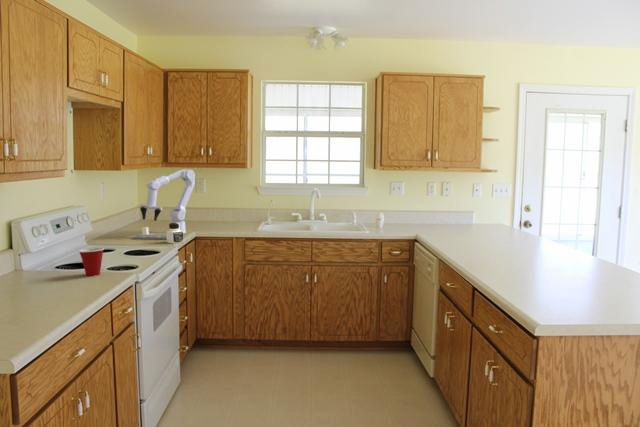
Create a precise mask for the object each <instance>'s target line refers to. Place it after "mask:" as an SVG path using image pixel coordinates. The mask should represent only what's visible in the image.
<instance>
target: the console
mask: <svg viewBox="0 0 640 427" xmlns="http://www.w3.org/2000/svg"><path fill="white" fill-rule="evenodd" d="M132 240H145V241H146V240H149V241H151V240H153V241H167V238H166V232H165V233H163V232H161V233H160V232H149V234H142V233H138V234H137V235H135V236H133V237H132Z"/></svg>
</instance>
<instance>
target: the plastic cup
mask: <svg viewBox="0 0 640 427" xmlns="http://www.w3.org/2000/svg"><path fill="white" fill-rule="evenodd" d="M104 250H105V247H92V248H84V249H79V250H78V251H77V252H78V253H79V255H80V257H81V261H82V265H83V268H84V272H85V275H86V277H95V276H94V275H97V276H100V275H101V268H102V264H103V263H102V261H103V254H104Z"/></svg>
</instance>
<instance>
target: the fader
mask: <svg viewBox="0 0 640 427" xmlns="http://www.w3.org/2000/svg"><path fill="white" fill-rule="evenodd" d="M149 230H150V227H148V226H143V227H141V234H149V233H150V232H149Z"/></svg>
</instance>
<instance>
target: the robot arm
mask: <svg viewBox="0 0 640 427" xmlns="http://www.w3.org/2000/svg"><path fill="white" fill-rule="evenodd" d="M178 178H181V179H182V180H183V182H184V183H185V186H184V189H183V190H182V193H181V196H180V197H179V201H178V203H177V205H176V206H174V208H173V209H172V210H171V212H170V218H172V223H179V226H180V229H179V230H181V231H183V235H184V234H186V233H187V231H186V222H185V218H186V212H187V210H186V207H187V204H188V202H189V200H190V197H191V195H192V192H193V191H194V190H193V189H194V187H195V184H196V183H195V182H196V181H195V180H196V179H195V178H196V174H195V172H194V170H193V169H184V168H183V169H180V170H177V171H176V172H173V173H171V174H169V175H167V176H166V175H161V176H160V177H158V178H154V180H149V181H148V183H147V184H146V187H147V197H146V198H147V199H146V204H139V208H140V209H139V210H140V212H141V216H142V220H146V217H147V216H146V214H147V210H148V209H150V210H154V219H153V221H154V222H155V221H157V219H158V216H159V215H160V214H161V212H162V210H163V206H157V198H158V190H159V189H160V188H161V187H164V186H166V185H168V184H169V182H170V181H173V180H175V179H178Z"/></svg>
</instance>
